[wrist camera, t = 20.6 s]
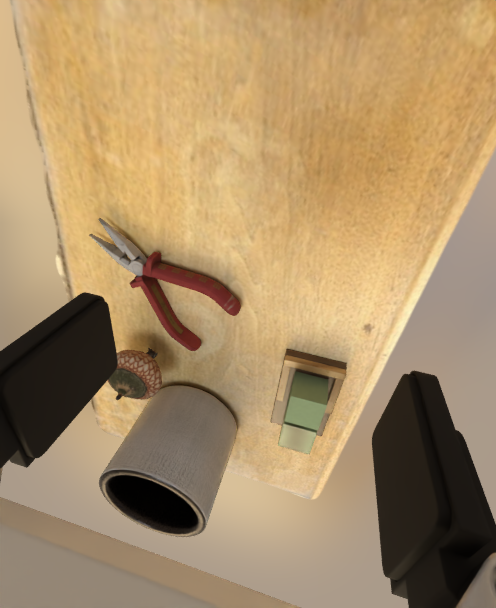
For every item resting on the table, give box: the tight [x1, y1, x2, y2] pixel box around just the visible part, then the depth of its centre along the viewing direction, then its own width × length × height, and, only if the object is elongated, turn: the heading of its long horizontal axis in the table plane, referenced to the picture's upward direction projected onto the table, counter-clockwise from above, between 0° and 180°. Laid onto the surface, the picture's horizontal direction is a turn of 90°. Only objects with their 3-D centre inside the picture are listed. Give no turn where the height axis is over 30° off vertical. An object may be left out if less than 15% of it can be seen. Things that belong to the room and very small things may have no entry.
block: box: [284, 371, 328, 430], centre depth 42 cm, size 4×5×4 cm
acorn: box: [107, 348, 162, 400], centre depth 46 cm, size 8×8×10 cm
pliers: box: [89, 218, 241, 351], centre depth 41 cm, size 12×20×3 cm, turn 49°
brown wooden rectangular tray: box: [271, 349, 346, 454], centre depth 44 cm, size 8×14×6 cm, turn 174°
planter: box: [99, 386, 237, 537], centre depth 49 cm, size 16×16×16 cm
